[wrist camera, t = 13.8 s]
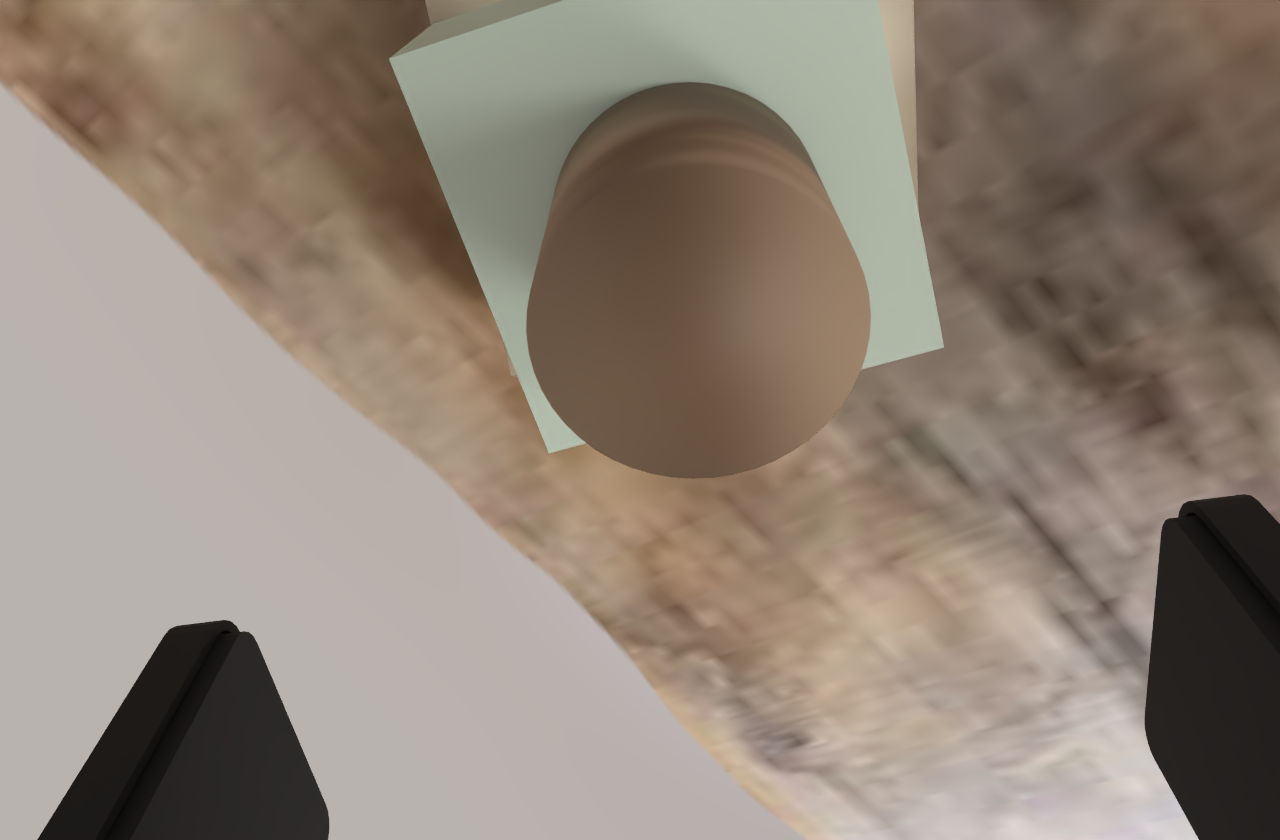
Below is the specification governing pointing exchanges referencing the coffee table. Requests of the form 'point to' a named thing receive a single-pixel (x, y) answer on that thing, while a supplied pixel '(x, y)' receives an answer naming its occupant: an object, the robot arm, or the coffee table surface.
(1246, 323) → the coffee table surface
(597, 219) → the walnut cylinder
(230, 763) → the robot arm
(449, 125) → the tower top
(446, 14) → the tower base
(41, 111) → the coffee table surface
